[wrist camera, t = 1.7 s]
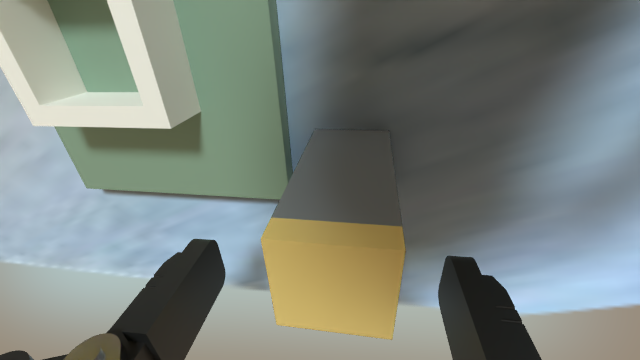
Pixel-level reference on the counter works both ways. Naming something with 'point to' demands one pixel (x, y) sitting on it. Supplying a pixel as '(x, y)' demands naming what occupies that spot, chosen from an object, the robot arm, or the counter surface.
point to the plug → (338, 237)
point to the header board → (156, 91)
